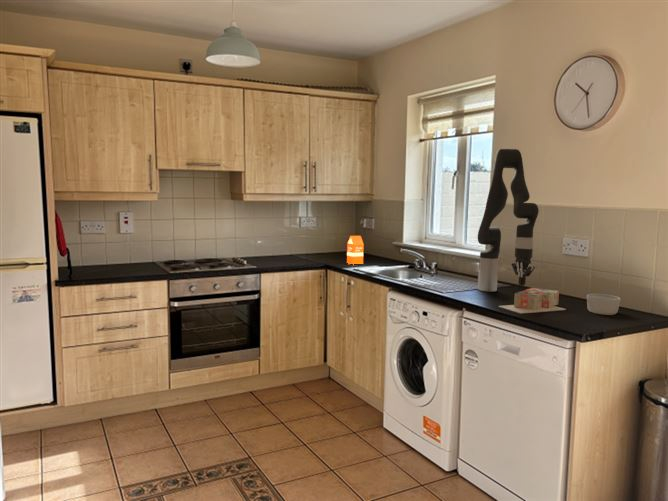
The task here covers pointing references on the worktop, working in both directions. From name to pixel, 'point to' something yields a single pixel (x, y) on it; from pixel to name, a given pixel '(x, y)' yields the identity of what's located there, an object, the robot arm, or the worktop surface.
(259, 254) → the worktop surface
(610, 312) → the ramekin
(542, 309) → the mat
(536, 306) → the stack of blocks
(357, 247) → the orange juice
